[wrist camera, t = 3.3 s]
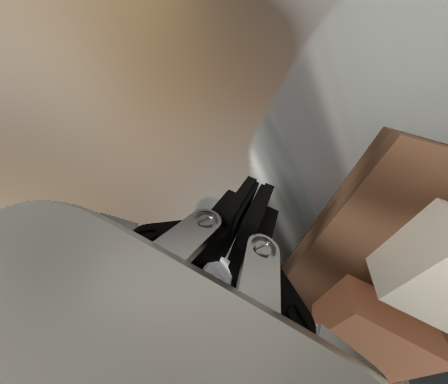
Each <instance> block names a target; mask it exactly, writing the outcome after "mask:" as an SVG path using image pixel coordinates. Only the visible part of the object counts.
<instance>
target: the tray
mask: <svg viewBox="0 0 448 384" xmlns="http://www.w3.org/2000/svg"><path fill="white" fill-rule="evenodd" d="M409 383H410V384H448V372H443V373H439V374H434V375H429V376H425V377H420V378H415V379H411V380H409Z"/></svg>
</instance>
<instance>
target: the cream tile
mask: <svg viewBox="0 0 448 384" xmlns="http://www.w3.org/2000/svg"><path fill="white" fill-rule="evenodd" d="M366 262H367V265H368V269H369V272H370V275H371V278H372V281H373V284H374V287H375V291H376V294H377V297H378V300H380V301H382V302H384V303H386V304H388V305H390V306H392V307H394V308H396V309H398V310H401V311H403V312H405V313H407V314H409V315H411V316H413V317H415V318H417V319H419V320H421V321H423V322H425V323H427V324H429V325H431V326H433V327H435V328H437V329H439V330H441V331H443V332H445V333H448V201H445V200H442V199H440V198H436V199H435V200H434V201H432V202H431V203H430V204H429V205H428V206H426V207H425V208H424V209H423V210H422V211H421V212H419V213H418V214H417V215H416V216H415V217H414V218H412V219H411V220H410V221H409V222H408V223H407V224H405V225H404V226H403V227H402V228H401V229H400V230H398V231H397V232H396V233H395V234H394V235H393V236H391V237H390V238H389V239H388V240H387V241H386V242H384V243H383V244H382V245H381V246H380V247H379V248H377V249H376V250H375V251H374V252H373V253H372V254H370V255H369V256H368V257H367V258H366Z"/></svg>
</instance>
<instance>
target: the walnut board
mask: <svg viewBox="0 0 448 384" xmlns="http://www.w3.org/2000/svg"><path fill="white" fill-rule="evenodd" d="M436 198H440V199H442V200H445V201H448V144H444V143H441V142H437V141H434V140H430V139H426V138H423V137H419V136H416V135H412V134H408V133H405V132H401V131H398V130H394V129H390V128H387V127H383V128H382V130H381V131H380V133H379V134H378V135H377V137H376V138H375V139H374V141H373V142H372V144H371V145H370V146H369V148H368V149H367V150H366V152H365V153H364V155H363V156H362V157H361V159H360V160H359V161H358V163H357V164H356V166H355V167H354V168H353V170H352V171H351V173H350V174H349V175H348V177H347V178H346V179H345V181H344V182H343V184H342V185H341V186H340V188H339V189H338V190H337V192H336V193H335V195H334V196H333V197H332V199H331V200H330V201H329V203H328V204H327V206H326V207H325V208H324V210H323V211H322V212H321V214H320V215H319V217H318V218H317V219H316V221H315V222H314V223H313V225H312V226H311V228H310V229H309V230H308V232H307V233H306V235H305V236H304V237H303V239H302V240H301V241H300V243H299V244H298V246H297V247H296V248H295V250H294V251H293V252H292V254H291V255H290V257H289V258H288V259H287V261H286V262H285V263H284V265H283V266H282V270H283V271H284V273H285V274H286V276H287V277H288V279H289V280H290V282H291V284H292V285H293V287H294V288H295V290H296V291H297V293H298V294H299V296H300V297H301V299H302V300H303V302H304V303H305V305H306V306H307V308H308V310H309V311H310V313H311V315H312V304H313V303H314V302H315V301H317V300H318V299H319V298H320V297H321V296H322V295H324V294H325V293H326V292H327V291H328V290H329V289H331V288H332V287H333V286H334V285H335V284H336V283H338V282H339V281H340V280H341V279H342V278H343V277H345V276H346V275H347V274H349V275H351V276H353V277H356V278H358V279H360V280H362V281H364V282H366V283H368V284H370V285H372V286H374V284H373V281H372V278H371V275H370V272H369V269H368V265H367V262H366V258H367V257H368V256H369V255H370V254H372V253H373V252H374V251H375V250H376V249H377V248H379V247H380V246H381V245H382V244H383V243H384V242H386V241H387V240H388V239H389V238H390V237H391V236H393V235H394V234H395V233H396V232H397V231H398V230H400V229H401V228H402V227H403V226H404V225H405V224H407V223H408V222H409V221H410V220H411V219H412V218H414V217H415V216H416V215H417V214H418V213H419V212H421V211H422V210H423V209H424V208H425V207H426V206H428V205H429V204H430V203H431V202H432V201H434V200H435V199H436ZM441 332H442V334H443V336H444V338H445V340H446V342H447V343H448V333H445V332H443V331H441Z"/></svg>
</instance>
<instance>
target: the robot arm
mask: <svg viewBox="0 0 448 384" xmlns="http://www.w3.org/2000/svg"><path fill="white" fill-rule="evenodd" d="M256 180H257V179H254V178H252V177H249V176H248V177H247V179H246V180H245V181H244V183H243V184H242V185H241V187H240V188H239V189H238V191H237V192H236V193H235V192H233V191H231V190H228V191H227V192H226V193H225V194H224V196H223V197H222V198H221V199H220V200H219V201H218V203H217V204H216V205H215V206H214V207H213V208H212V210H210V209H198V210H196V211H195V212H193V213H192V214H190V215H189V216H188V217H186V218H185V219H184V220H179V221H171V222H162V223H152V224H145V225H141V226H138V223H136V222H132V221H129V220H125V219H122V218H118V217H115V216H111V215H108V214H104V213H98V212H95V211H92V210H89V209H87V208H84V207H81V206H78V205H74V204H70V203H66V202H59V201H51V200H33V201H26V202H21V203H18V204H14V205H11V206H7V207H4V208H1V209H0V384H392V383H390V382H389V381H388V380H387V378H386V377H385V375H384V374H383V373H382V372H381V371H380V370H379V369H378V368H377V367H376V366H374V365H373V364H372V363H371V362H369V361H368V360H367V359H365V358H364V357H363V356H362V355H360V354H359V353H358V352H357V351H355V350H354V349H353V348H352V347H350V346H349V345H348V344H347V343H345V342H344V341H343V340H342V339H340V338H339V337H338V336H337V335H335V334H334V333H333V332H331V331H330V330H329V329H328V328H326V327H325V326H324V325H323V324H320V325H318V324H317V323H316V322H315V321H314V318H313V317H312V315H311V313H310V311H309V310H308V308H307V306H306V305H305V303H304V302H303V300H302V299H301V297H300V296H299V294H298V293H297V291H296V290H295V288H294V287H293V285H292V284H291V282H290V280H289V279H288V277H287V276H286V274H285V273H284V271H283V270H282V268H281V267H280V250H279V247H278V245H277V244H276V242H275V241H274V240H273V239H272V235H273V231H274V227H275V223H276V219H277V216H278V211H277V210H275V209H273V208H270V207H268V206H267V205H268V202H269V200H270V197H271V194H272V192H273V189H274V186H272V185H269V184H267V183H266V184H265V185H263V184H261V186H260V188H259V190H258V192H257V194H256V195H255V192H256V190H257V187H258V185H259V183H258V182H256ZM254 195H255V197H254ZM253 197H254V199H253ZM252 200H253V201H252ZM251 202H252V203H251ZM236 235H237V236H236ZM235 237H236V239H235ZM234 239H235V241H234ZM233 241H234V244H233V246H232V249H231V252H230V254H229V257H228V260H229V261H230V264H229V266H228V268H229V270H230V272H231V275H232V277H231V279H230V283H229V284H227V283H225V282H223V281H222V280H220V279H218V278H216V277H214V276H213V275H211V274H209V273H207V272H206V271H205V269H206V268H207V267H208V265H209V264H210V262H214V261H218V262H219V260H220V258H221V256H222V257H224V258H225V257H226V255H227V253H228V251H229V249H230V247H231V245H232V243H233Z"/></svg>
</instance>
